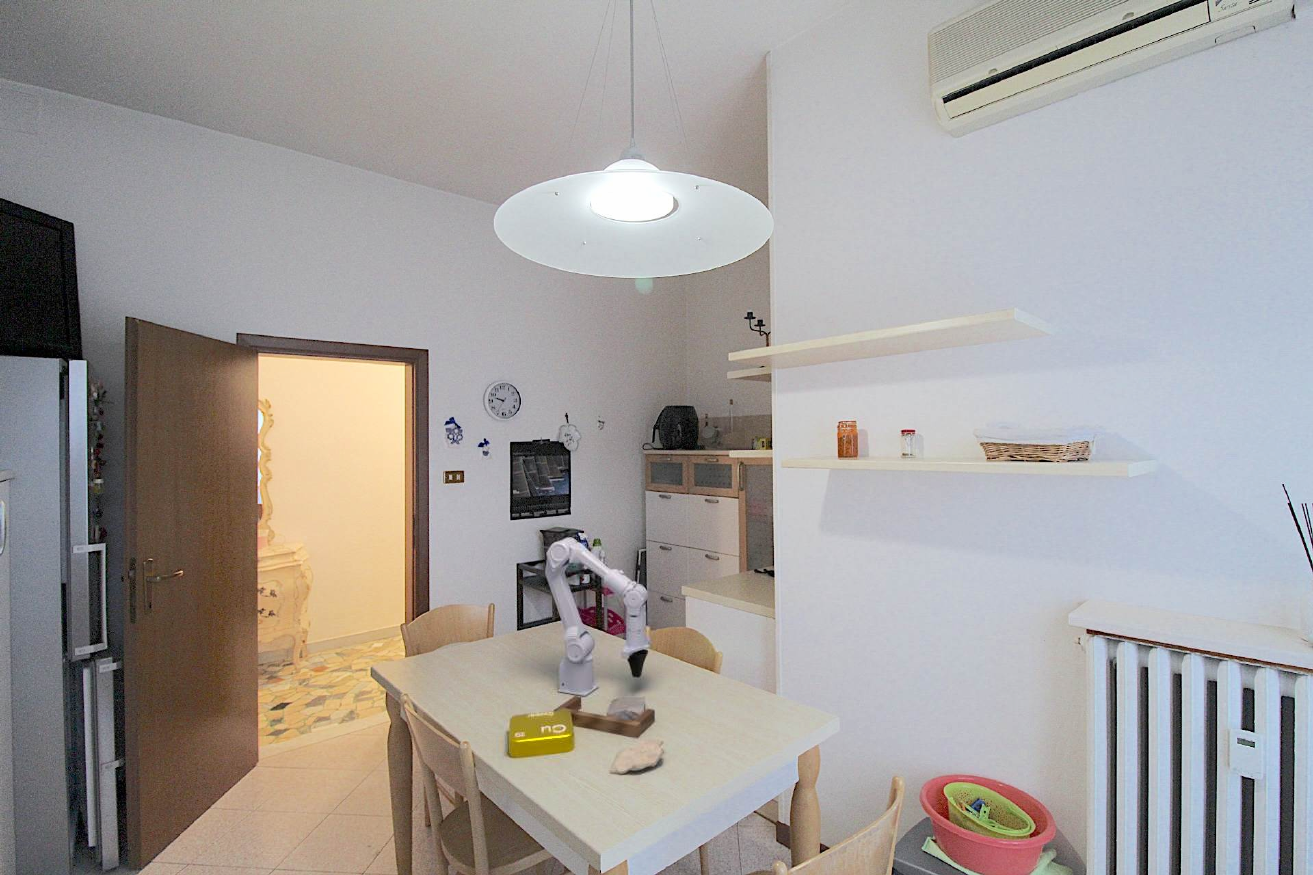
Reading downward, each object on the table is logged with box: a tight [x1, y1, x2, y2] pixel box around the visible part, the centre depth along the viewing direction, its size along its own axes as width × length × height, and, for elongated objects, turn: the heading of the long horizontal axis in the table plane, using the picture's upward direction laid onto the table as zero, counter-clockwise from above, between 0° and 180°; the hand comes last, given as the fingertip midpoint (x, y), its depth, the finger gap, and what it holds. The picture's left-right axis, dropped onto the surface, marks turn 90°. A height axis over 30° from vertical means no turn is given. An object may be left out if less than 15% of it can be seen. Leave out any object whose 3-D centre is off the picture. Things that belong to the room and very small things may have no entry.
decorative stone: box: [609, 738, 664, 775], centre depth 139 cm, size 11×4×15 cm
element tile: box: [508, 710, 575, 759], centre depth 150 cm, size 15×15×5 cm
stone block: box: [606, 695, 646, 721], centre depth 163 cm, size 12×5×10 cm
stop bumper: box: [553, 695, 656, 739], centre depth 160 cm, size 24×10×3 cm, turn 65°
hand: (636, 676), depth 178 cm, fingers closed
